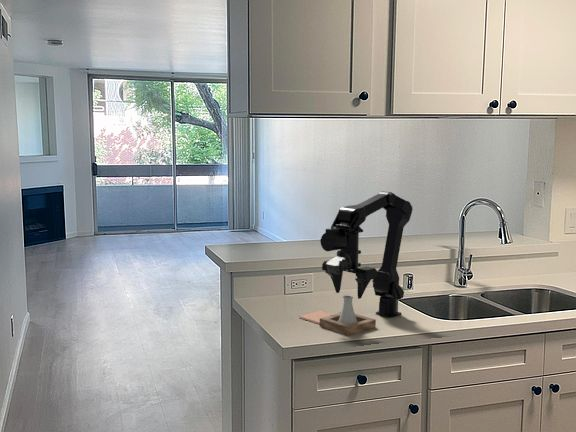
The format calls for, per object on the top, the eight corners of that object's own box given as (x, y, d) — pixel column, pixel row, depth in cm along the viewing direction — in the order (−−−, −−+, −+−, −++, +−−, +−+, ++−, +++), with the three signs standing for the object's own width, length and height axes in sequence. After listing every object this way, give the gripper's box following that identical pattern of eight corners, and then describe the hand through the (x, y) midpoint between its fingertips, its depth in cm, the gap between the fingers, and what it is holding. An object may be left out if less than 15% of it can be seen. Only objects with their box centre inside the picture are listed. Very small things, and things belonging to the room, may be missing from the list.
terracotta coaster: (320, 312, 212) (320, 310, 212) (341, 318, 204) (341, 317, 204) (299, 317, 205) (299, 316, 205) (320, 324, 198) (320, 322, 198)
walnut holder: (346, 318, 205) (346, 311, 204) (375, 327, 196) (375, 319, 195) (319, 326, 196) (319, 318, 196) (349, 335, 187) (349, 327, 187)
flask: (357, 323, 200) (357, 293, 198) (360, 330, 193) (361, 299, 191) (335, 323, 199) (335, 293, 198) (337, 330, 192) (338, 299, 191)
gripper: (310, 246, 194) (309, 294, 196) (354, 255, 180) (353, 306, 183) (334, 242, 202) (333, 288, 204) (378, 250, 188) (377, 299, 190)
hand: (348, 295), depth 195 cm, fingers open, 9 cm apart
